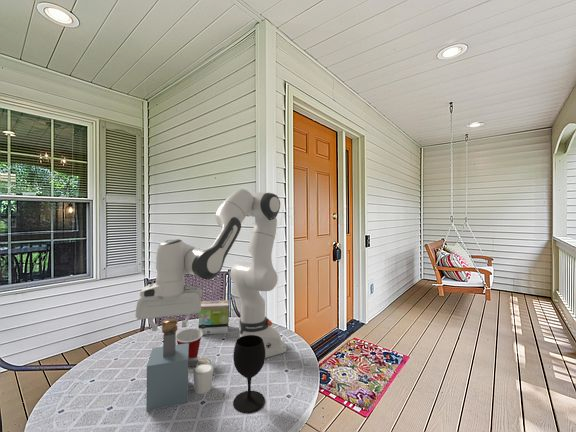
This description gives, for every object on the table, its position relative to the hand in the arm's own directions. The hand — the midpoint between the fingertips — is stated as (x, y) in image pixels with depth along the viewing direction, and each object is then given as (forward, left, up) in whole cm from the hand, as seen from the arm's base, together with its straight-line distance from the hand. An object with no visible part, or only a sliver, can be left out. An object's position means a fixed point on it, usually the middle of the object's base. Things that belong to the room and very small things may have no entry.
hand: (169, 328), depth 90 cm
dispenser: (-1, 0, -22) cm, 23 cm away
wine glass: (-25, +12, -23) cm, 36 cm away
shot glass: (-11, 0, -23) cm, 25 cm away
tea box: (-18, -48, -23) cm, 56 cm away
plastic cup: (-6, -19, -23) cm, 30 cm away
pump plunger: (0, 0, -8) cm, 8 cm away
